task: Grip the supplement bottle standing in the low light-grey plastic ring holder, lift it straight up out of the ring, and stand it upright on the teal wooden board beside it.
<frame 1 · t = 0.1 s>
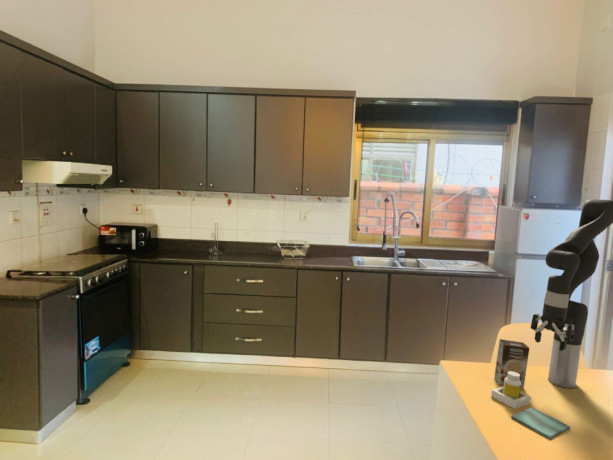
hand: (549, 346, 147), 17 cm above the table, tool pointing down, fingers open, 8 cm apart
supplement bottle: (510, 400, 140), resting in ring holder
coffee box: (508, 383, 153), on the table
teal board: (539, 423, 126), on the table
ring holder: (510, 399, 139), on the table
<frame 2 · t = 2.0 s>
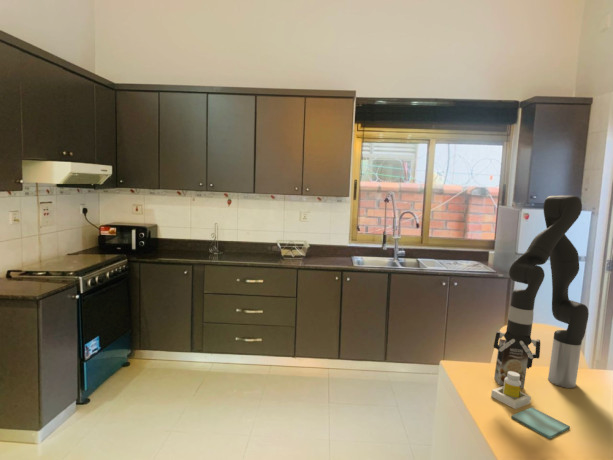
hand: (514, 364, 138), 13 cm above the table, tool pointing down, fingers open, 8 cm apart
nothing on the table moved.
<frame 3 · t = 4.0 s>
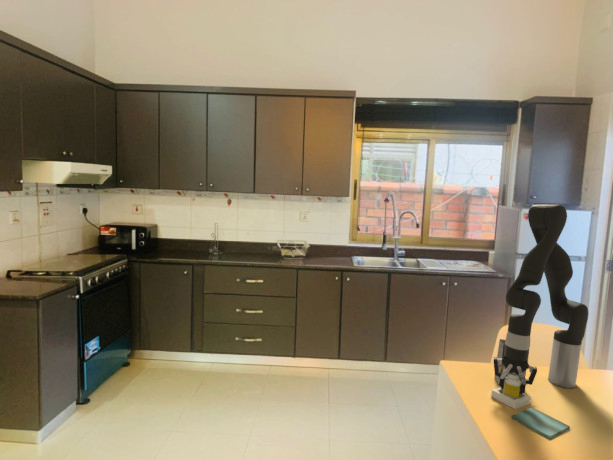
hand: (511, 390, 139), 4 cm above the table, tool pointing down, fingers closed on supplement bottle, 5 cm apart
supplement bottle: (510, 400, 140), resting in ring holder, touching gripper
everything else where it was.
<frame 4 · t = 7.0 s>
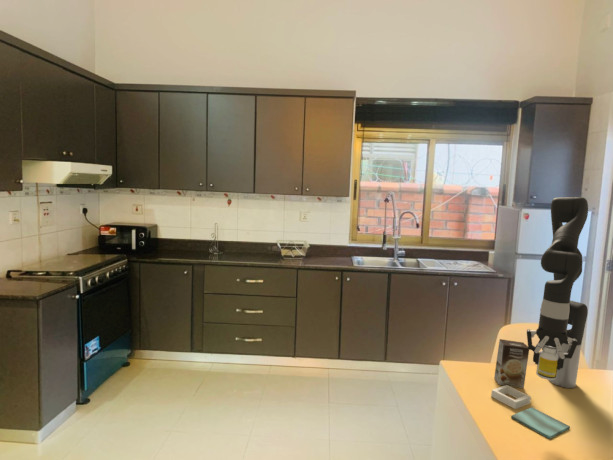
hand: (547, 366, 124), 19 cm above the table, tool pointing down, fingers closed on supplement bottle, 5 cm apart
supplement bottle: (545, 377, 124), point 15 cm above the table, touching gripper
everything else where it was.
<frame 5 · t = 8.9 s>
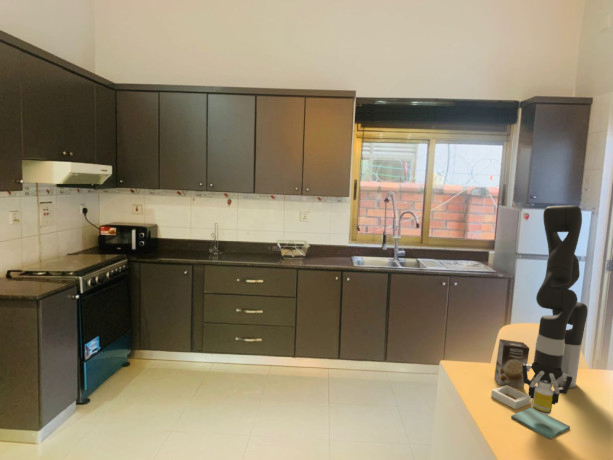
hand: (542, 400, 125), 8 cm above the table, tool pointing down, fingers closed on supplement bottle, 5 cm apart
supplement bottle: (541, 411, 125), point 4 cm above the table, touching gripper
everything else where it was.
when the fingers open (6 cm above the table, at t = 10.3 s): supplement bottle drops 1 cm, resting on teal board.
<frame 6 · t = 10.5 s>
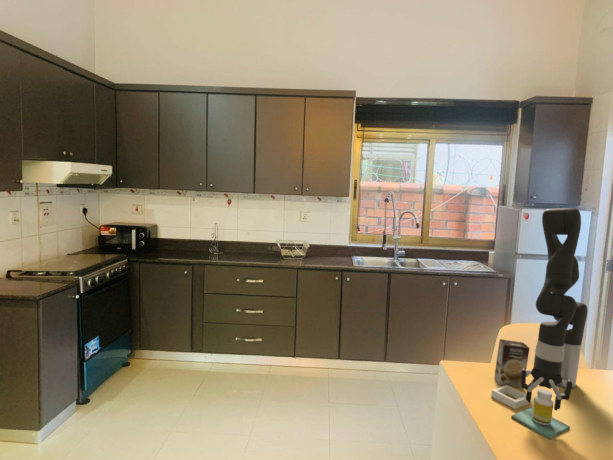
hand: (542, 405, 125), 6 cm above the table, tool pointing down, fingers open, 6 cm apart
supplement bottle: (540, 421, 126), point 1 cm above the table, touching teal board
everything else where it was.
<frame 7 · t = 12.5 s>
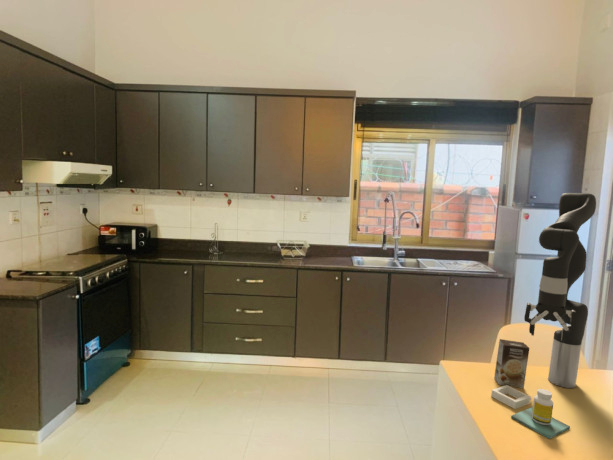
hand: (547, 337, 129), 26 cm above the table, tool pointing down, fingers open, 8 cm apart
nothing on the table moved.
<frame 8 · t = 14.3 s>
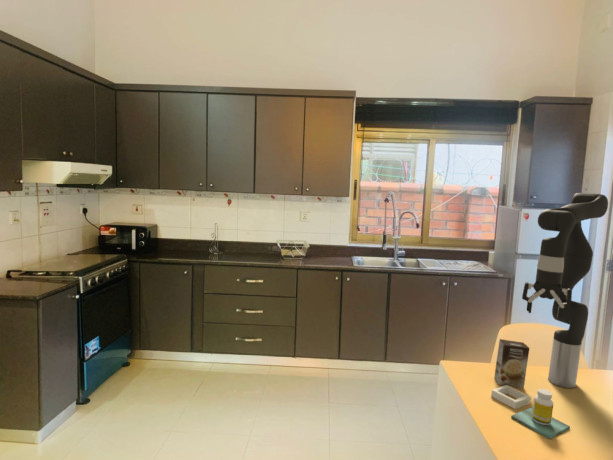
hand: (543, 315, 134), 32 cm above the table, tool pointing down, fingers open, 8 cm apart
nothing on the table moved.
at the end: supplement bottle inside the target area on the teal board (0.2 cm from its centre), point 0.6 cm above the teal board's base; supplement bottle tilted 0°; the gripper is holding nothing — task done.
